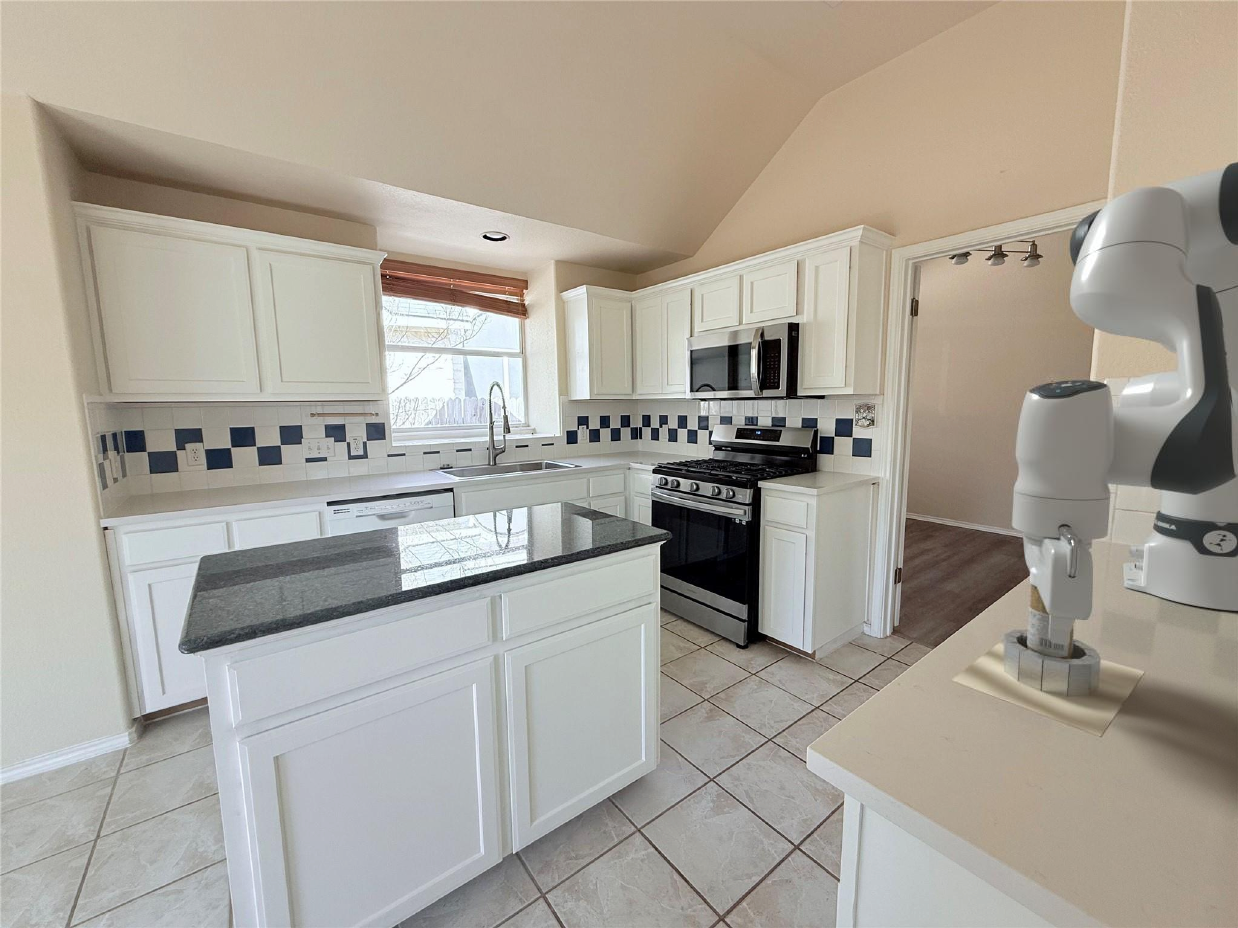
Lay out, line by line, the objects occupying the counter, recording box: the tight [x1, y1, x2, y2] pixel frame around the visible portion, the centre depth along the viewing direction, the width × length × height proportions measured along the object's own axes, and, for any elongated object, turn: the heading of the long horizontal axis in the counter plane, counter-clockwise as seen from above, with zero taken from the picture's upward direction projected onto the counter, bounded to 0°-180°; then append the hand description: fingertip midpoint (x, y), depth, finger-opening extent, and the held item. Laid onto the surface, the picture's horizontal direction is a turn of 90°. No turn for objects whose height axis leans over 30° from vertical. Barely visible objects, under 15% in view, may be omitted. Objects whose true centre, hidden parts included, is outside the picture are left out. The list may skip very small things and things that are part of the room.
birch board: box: [950, 638, 1145, 738], centre depth 65 cm, size 20×14×1 cm
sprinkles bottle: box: [1027, 568, 1075, 659], centre depth 64 cm, size 5×5×14 cm
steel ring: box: [1003, 629, 1102, 697], centre depth 64 cm, size 9×9×4 cm
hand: (1051, 625), depth 64 cm, fingers open, 8 cm apart
